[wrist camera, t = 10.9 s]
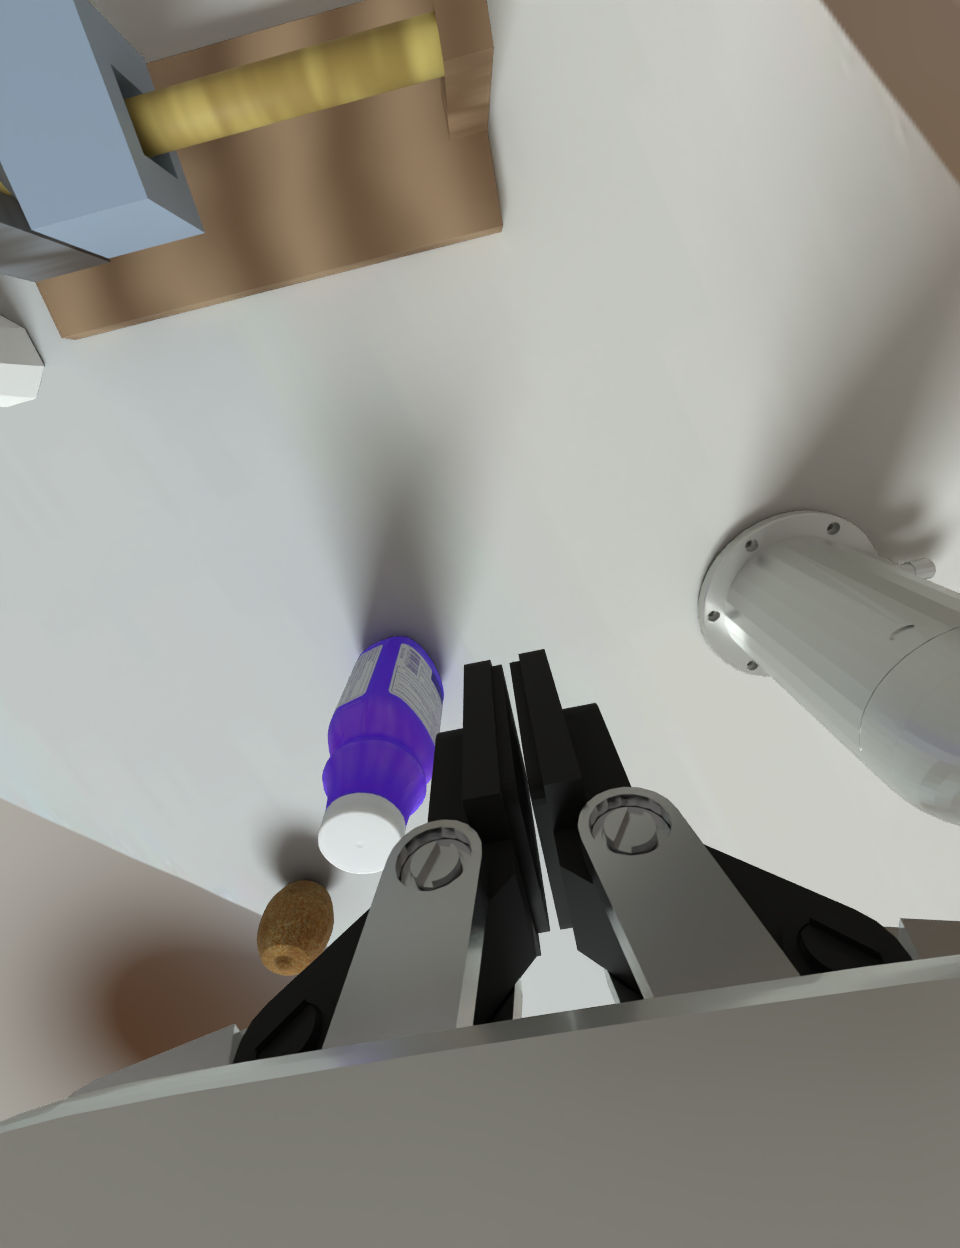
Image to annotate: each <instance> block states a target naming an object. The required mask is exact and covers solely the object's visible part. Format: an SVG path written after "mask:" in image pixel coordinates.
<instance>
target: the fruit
mask: <svg viewBox="0 0 960 1248" xmlns="http://www.w3.org/2000/svg"><path fill="white" fill-rule="evenodd" d="M333 924H334V913H333V905H332V901H331V898H330V895H329V893H328V892H327V890H326V889H325V888H324V887H323V886H321V885H320V884H318V883H316V882H313V881H309V880H299V881H295V882H292V883H289V884H288V885H287V886H285V887H284V888H283V889H282V890H281V891H279V892H278V893H277V894H276V895H275V896H274V897H273V898H272V899H271V901H270V902H269V903H268V905H267V907H266V909H265V911H264V913H263V916H262V918H261V921H260V925H259V928H258V934H257V944H258V950H259V955H260V958H261V960H262V963H263V964H264V965H265V966H266V968H267V969H269V970H270V971H272V972H274V973H277V974H281V975H296V974H299V973H301V972H302V971H303V970H304V969H305V968H306V967H307V966H308V965H309V964H311V963H312V962H313V961H314V960H315V959H316V958H317V957H318V956H319V955H320V954H321V953H322V952H323V951H324V949H325V947H326V945H327V943H328V941H329V939H330V936H331V933H332V930H333Z"/></svg>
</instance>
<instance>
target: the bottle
mask: <svg viewBox="0 0 960 1248" xmlns="http://www.w3.org/2000/svg"><path fill="white" fill-rule="evenodd" d="M443 699H444V691H443V686H442V682H441V679H440V676H439V674H438V671H437V669H436V667H435V665H434V663H433V662H432V660H431V658H430V657H429V656H428V654H427V653H426V652H425V650H424V649H423V648H422V647H421V646H420V645H419V644H418V643H416V642H415V641H414V640H412V639H410V638H409V637H404V636H396V637H390V638H387V639H385V640H381V641H379V642H377V643H375V644H373V645H371V646H370V647H369V648H367V649H366V650H365V651H364V652H363V653H362V654H361V655H360V656H359V658H358V660H357V662H356V664H355V666H354V668H353V671H352V673H351V675H350V678H349V680H348V682H347V685H346V687H345V689H344V691H343V694H342V696H341V698H340V700H339V703H338V705H337V707H336V710H335V712H334V714H333V717H332V719H331V722H330V725H329V729H328V745H329V752H330V758H329V760H328V761H327V763H326V765H325V767H324V770H323V775H322V781H323V786H324V790H325V793H326V795H327V797H328V799H327V805H326V810H325V813H324V817H323V821H322V824H321V827H320V830H319V833H318V845H319V848H320V851H321V852H322V854H323V855H324V857H325V858H326V859H327V860H328V861H329V862H330V863H331V864H333V865H334V866H336V867H337V868H339V869H341V870H344V871H347V872H350V873H356V874H369V873H375V872H379V871H381V870H383V869H384V867H385V864H386V861H387V858H388V856H389V855H390V853H391V851H392V849H393V847H394V846H395V845H396V844H397V843H398V842H399V840H400V839H401V838H402V837H403V836H404V835H405V830H406V825H407V822H408V819H409V816H410V815H412V814H413V813H414V812H415V811H416V810H417V809H418V807H419V806H420V805H421V804H422V802H423V800H424V798H425V795H426V784H427V783H428V782H429V781H430V780H431V778H432V771H433V760H434V750H435V739H436V735H437V734H438V733H440V724H441V715H442V705H443Z"/></svg>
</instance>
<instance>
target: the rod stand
mask: <svg viewBox="0 0 960 1248" xmlns="http://www.w3.org/2000/svg"><path fill="white" fill-rule="evenodd" d="M493 49H494V47H493V40H492V34H491V27H490V20H489V14H488V7H487V0H365V1H361V2H358V3H354V4H351V5H347V6H344V7H340V8H337V9H333V10H330V11H327V12H323V13H320V14H316V15H313V16H309V17H306V18H302V19H299V20H295V21H292V22H288V23H285V24H281V25H278V26H275V27H271V28H268V29H264V30H261V31H257V32H254V33H250V34H247V35H243V36H240V37H236V38H233V39H229V40H226V41H222V42H219V43H216V44H212V45H209V46H205V47H202V48H198V49H195V50H191V51H188V52H184V53H181V54H177V55H174V56H170V57H167V58H164V59H160V60H157V61H153V62H150V63H146V65H147V68H148V71H149V74H150V77H151V80H152V83H153V85H154V88H155V90H154V91H151V92H147V93H144V94H140V95H137V96H133V97H130V98H126V99H124V102H125V105H126V107H127V110H128V113H129V116H130V118H131V121H132V124H133V126H134V129H135V132H136V134H137V137H138V140H139V143H140V145H141V148H142V151H143V153H144V155H145V156H147V157H148V158H150V157H153V156H157V155H161V154H164V153H168V152H172V151H175V150H176V151H177V154H178V157H179V160H180V163H181V166H182V168H183V171H184V174H185V177H186V180H187V183H188V186H189V188H190V191H191V194H192V197H193V200H194V203H195V206H196V208H197V211H198V214H199V217H200V220H201V223H202V226H203V228H204V231H205V233H203V234H200V235H196V236H192V237H188V238H184V239H181V240H177V241H173V242H169V243H165V244H162V245H158V246H154V247H150V248H146V249H143V250H139V251H135V252H131V253H127V254H124V255H120V256H116V257H112V258H106V257H103V256H101V255H98V254H95V253H92V252H90V251H87V250H84V249H82V248H79V247H76V246H74V245H71V244H68V243H66V242H63V241H60V240H57V239H55V238H52V237H49V236H47V235H44V234H41V233H39V232H36V231H33V230H31V228H30V225H29V223H28V221H27V219H26V217H25V215H24V212H23V210H22V208H21V206H20V204H19V201H18V199H17V197H16V195H15V193H14V191H13V188H12V186H11V184H10V182H9V180H8V177H7V175H6V173H5V171H4V169H3V166H2V164H1V162H0V273H1V274H5V275H9V276H13V277H17V278H21V279H25V280H29V281H33V282H35V283H36V285H37V287H38V289H39V291H40V293H41V295H42V298H43V300H44V302H45V304H46V306H47V308H48V310H49V312H50V315H51V317H52V319H53V321H54V323H55V325H56V327H57V329H58V332H59V334H60V336H61V338H66V339H74V340H76V339H80V338H84V337H88V336H92V335H96V334H100V333H104V332H108V331H112V330H116V329H120V328H124V327H128V326H132V325H136V324H139V323H143V322H147V321H151V320H155V319H159V318H163V317H167V316H171V315H175V314H179V313H183V312H187V311H191V310H195V309H199V308H202V307H206V306H210V305H214V304H218V303H222V302H226V301H230V300H234V299H238V298H242V297H246V296H250V295H254V294H258V293H262V292H265V291H269V290H273V289H277V288H281V287H285V286H289V285H293V284H297V283H301V282H305V281H309V280H313V279H317V278H321V277H325V276H328V275H332V274H336V273H340V272H344V271H348V270H352V269H356V268H360V267H364V266H368V265H372V264H376V263H380V262H384V261H388V260H391V259H395V258H399V257H403V256H407V255H411V254H415V253H419V252H423V251H427V250H431V249H435V248H439V247H443V246H447V245H451V244H455V243H458V242H462V241H466V240H470V239H474V238H478V237H482V236H486V235H490V234H494V233H498V232H502V227H503V223H502V217H501V211H500V205H499V198H498V192H497V186H496V180H495V174H494V168H493V161H492V155H491V149H490V143H489V137H488V117H489V103H490V90H491V76H492V62H493Z"/></svg>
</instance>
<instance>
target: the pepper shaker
mask: <svg viewBox="0 0 960 1248" xmlns="http://www.w3.org/2000/svg"><path fill="white" fill-rule="evenodd" d="M43 370H44V364H43V363H42V361H41V359H40V357H39V355H38V353H37V351H36V349H35V347H34V345H33V344H32V342H31V340H30V338H29V336H28V334H27V332H26V330H25V329H24V328H23V327H21V326H19V325H17V324H15V323H14V322H12V321H10V320H8V319H6V318H5V317H3V316H1V315H0V407H9V406H12V405H15V404H19V403H22V402H26V401H29V400H32V399H36V398H37V394H38V390H39V386H40V382H41V378H42V374H43Z"/></svg>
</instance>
